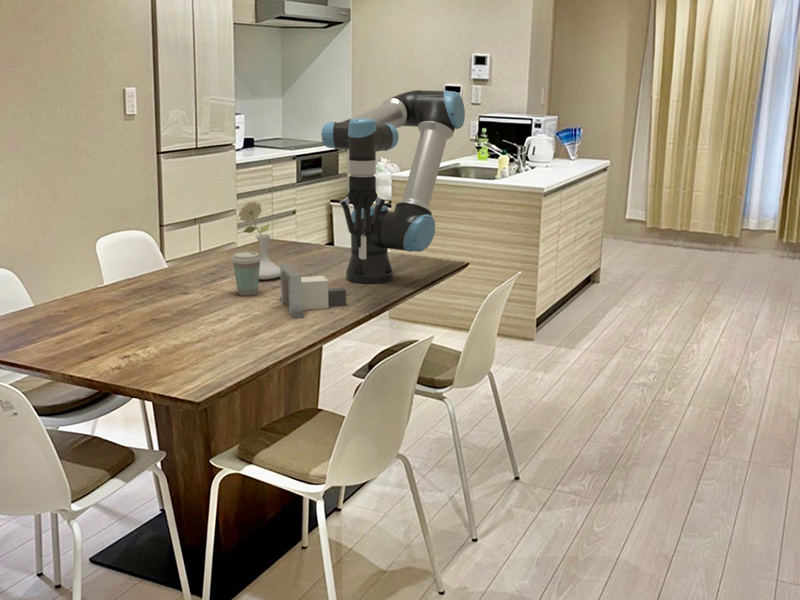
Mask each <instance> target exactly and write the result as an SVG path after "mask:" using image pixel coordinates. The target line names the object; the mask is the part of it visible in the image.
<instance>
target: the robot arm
mask: <svg viewBox="0 0 800 600" xmlns="http://www.w3.org/2000/svg"><path fill="white" fill-rule="evenodd" d="M465 110H466V109H465V103H464V100H463V98H462V96H461V95H460V93H458V92H456V91H455V90H454V91H452V90H451V91H450V90H420V89H417V90H416V89H415V90H410V91H405V92H403V93H400V94H397V95H395V96H392V97H389V98H387V99H385V100H384V101H383V102H382V104H381V105H379V106H377V107H374V108H371V109H370V110H367V111H365V112H361V113H360V114H357V115H355V116H353V117H351V118H349V119H346V120H342V121H339V122H336V121H332V122H329V121H328V122H326V123H325V124H324V125H323V127H322V129H321V141H322V143H323V146H325V147H327V148H328V149H334V150H348V174H349V177H348V192H347V197H345V198H344V199H340V200H339V204H340V206H341V207H342V210H343V214H344V217H345V222H346V225H347V229H348V233H350V248H351V249H350V250H351V252H350V258H349V261H348V264H347V268H346V271H345V279H346V280H348V281H349V282H352V283H357V284H381V283H382V284H383V283H387V282H390V281H392V280H394V270H393V267H392V263H391V261H390V258H389V255H388V253H389V252H388V251H389V250H396V251H397V250H398V251H406V252H410V253H412V252H415V253H417V252H423V251H425V250H427V248H428V247H429V246H430V245H431V243H432V241H433V240H434V236H435V231H436V228H435V227H436V222H435V221H436V220H435V218H434V217H433V216H432V215H433V213H432V210H431V209H430V204H431V200H432V196H433V193H434V189H435V187H436V186H435V185H436V181H437V177H438V174H439V170H440V167H441V163H442V159H443V155H444V151H445V147H446V145H447V141H448V140H450V139H452V138H453V136H454V133H455V130H459V129H461V128H462V127H463V126H464V125H465V124H464V123H465V118H466V114H465V113H466V112H465ZM401 127H417V129H418V131H419V132H420V134H419V138H418V142H417V146H416V149H415V153H414V156H413V159H412V163H411V167H410V170H409V175H408V179H407V182H406V186H405V188H404V192H403V195H402V199H401V200H400V201H398V202H397V203H396V204H395V208H394V210H393V211H391V210H390V211H389V208H388V206H387V205H385V204H386V200H385V199H383V198H381V197H379V196H378V193H377V178H376V176H375V174H376V173H377V170H376V169H377V166H376V165H377V161H376V160H377V159H376V157H377V152H386V151H389V150H392V149H394V148H395V147H396V146H397V144H398V143H399V138H400V137H399V135H400V134H399V132H398V128H401ZM350 203H351V204H352V206H353V207H354V209H353V210H352V211H351V210H350V207H349V206H350ZM374 203H375V205H373V204H374Z"/></svg>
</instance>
